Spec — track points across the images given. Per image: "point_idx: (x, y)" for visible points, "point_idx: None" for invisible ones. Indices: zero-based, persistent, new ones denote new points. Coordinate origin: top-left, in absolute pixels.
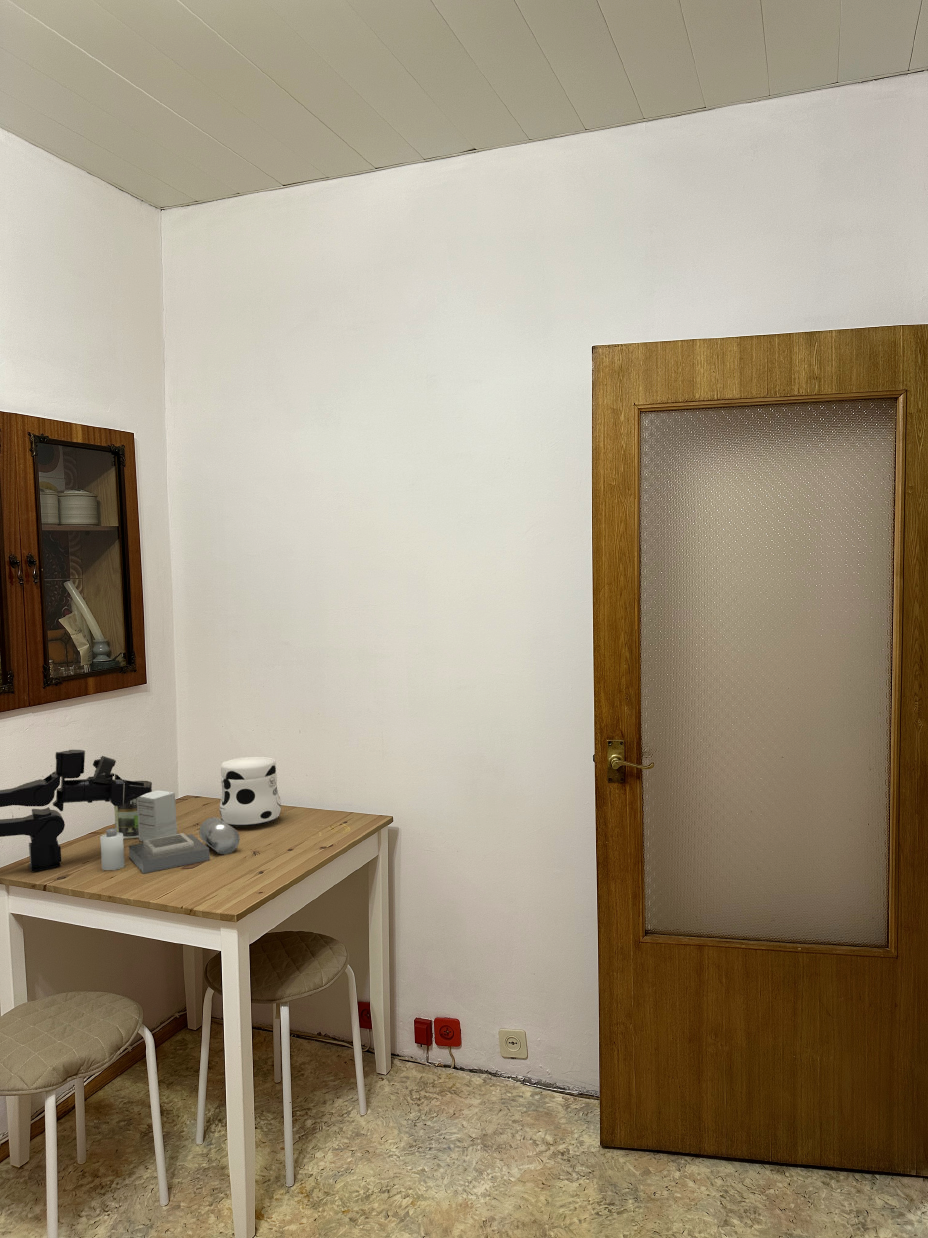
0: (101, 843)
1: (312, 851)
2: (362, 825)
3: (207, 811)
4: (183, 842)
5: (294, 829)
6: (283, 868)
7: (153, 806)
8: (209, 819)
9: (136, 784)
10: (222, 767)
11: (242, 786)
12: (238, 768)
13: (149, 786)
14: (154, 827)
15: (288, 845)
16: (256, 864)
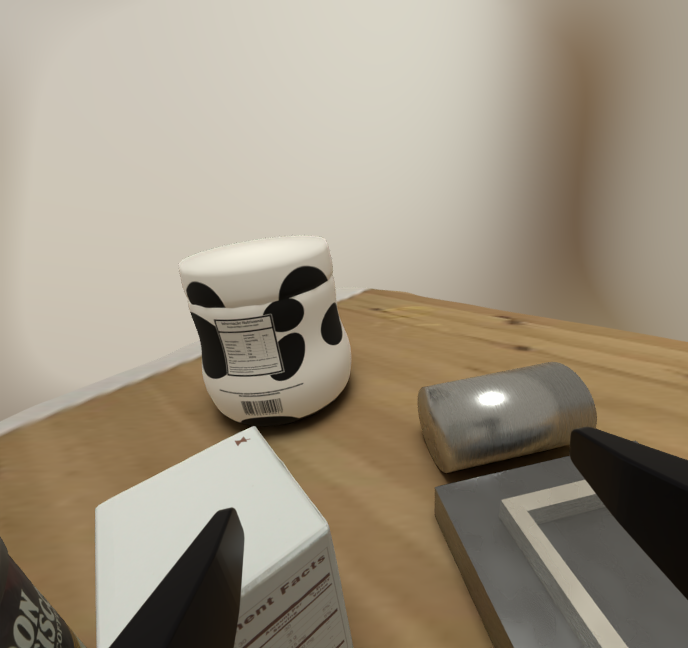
0: None
1: (536, 330)
2: (403, 300)
3: (71, 467)
4: (570, 513)
5: (383, 344)
6: (661, 354)
7: (331, 565)
8: (451, 399)
9: (216, 594)
10: (244, 273)
11: (328, 300)
12: (313, 253)
13: (1, 539)
14: (346, 643)
15: (491, 350)
16: (643, 385)
